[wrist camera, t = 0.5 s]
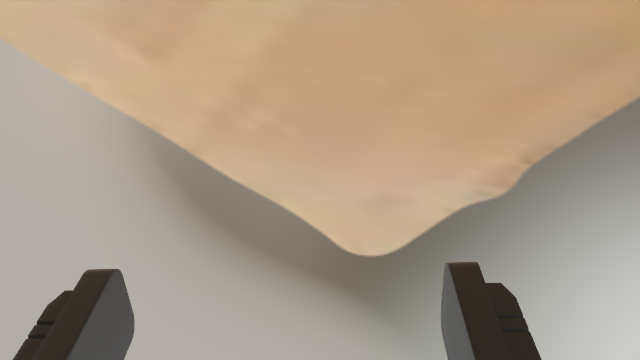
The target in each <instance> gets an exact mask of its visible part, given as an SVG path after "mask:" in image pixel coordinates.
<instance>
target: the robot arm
mask: <svg viewBox="0 0 640 360" xmlns="http://www.w3.org/2000/svg"><path fill="white" fill-rule="evenodd" d="M441 327H442V334H443V339H444V344H445V348H446V352H447V357H448V360H541V358H540V355H539V353H538V350H537V348H536V346H535V343H534V341H533V338H532V336H531V334H530V332H529V331H528V326H527V324H526V321H525V319H524V318H523V314H522V312H521V309H520V307H519V304H518V302H517V299H516V297H515V296H514V295H513V294H512V293H511V292H510V291H508V289H506V288H505V287H504V286H503V285H502V284H501V283H485V281H484V278H483V275H482V273H481V270H480V267H479V265H478V263H477V262H457V263H446V264H445V269H444V279H443V291H442V303H441ZM133 333H134V314H133V311H132V307H131V304H130V300H129V296H128V293H127V289H126V286H125V282H124V279H123V275H122V273H121V271H120V270H119V269H96V270H87V271H86V272H84V274H83V275H82V277H81V279H80V280H79V282H78V284H77V285H76V287H75V289H74V290H73V291H64V292H63V293H62V294H61V295H59V296H58V297H57V298H56V299H55V300H53V301H52V302H51V303H50V304H49V305H48V306H47V307H46V309H45V310H44V312H43V313H42V315H41V316H40V318H39V320H38V321H37V325H35V326H34V327H33V329H32V331H31V332H30V334H29V335H28V339H26V340H25V342H24V343H23V345H22V346H21V348H20V349H19V351H18V353H17V354H16V356H15V357H14V359H13V360H124V358H125V356H126V353H127V350H128V348H129V346H130V344H131V341H132V338H133Z"/></svg>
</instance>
